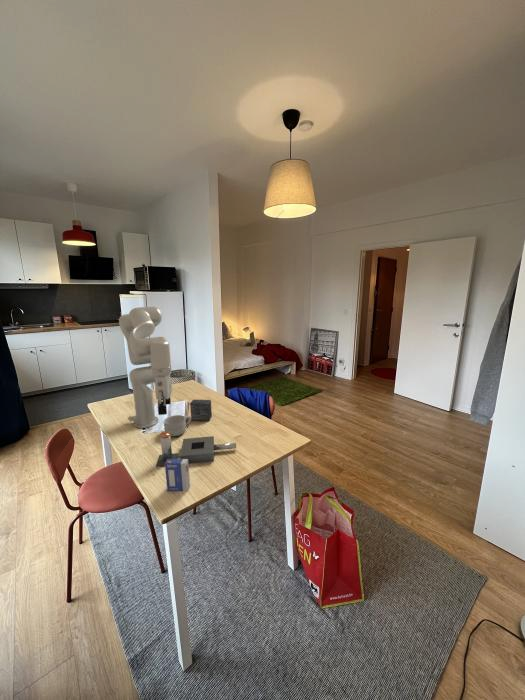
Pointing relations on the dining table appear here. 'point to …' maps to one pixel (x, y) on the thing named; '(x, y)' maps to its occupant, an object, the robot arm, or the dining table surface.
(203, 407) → the small box
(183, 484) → the walkman
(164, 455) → the silver copper cylinder
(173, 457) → the rubber pad
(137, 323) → the robot arm
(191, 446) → the block
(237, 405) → the dining table surface
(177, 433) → the teacup
